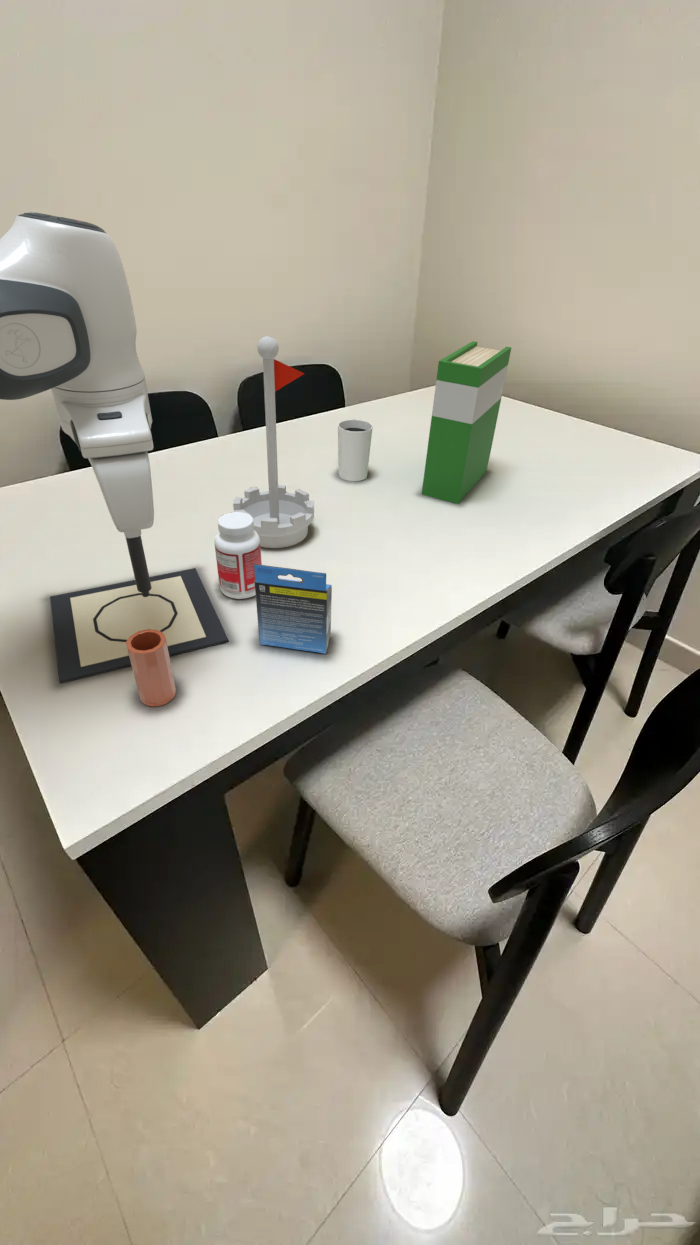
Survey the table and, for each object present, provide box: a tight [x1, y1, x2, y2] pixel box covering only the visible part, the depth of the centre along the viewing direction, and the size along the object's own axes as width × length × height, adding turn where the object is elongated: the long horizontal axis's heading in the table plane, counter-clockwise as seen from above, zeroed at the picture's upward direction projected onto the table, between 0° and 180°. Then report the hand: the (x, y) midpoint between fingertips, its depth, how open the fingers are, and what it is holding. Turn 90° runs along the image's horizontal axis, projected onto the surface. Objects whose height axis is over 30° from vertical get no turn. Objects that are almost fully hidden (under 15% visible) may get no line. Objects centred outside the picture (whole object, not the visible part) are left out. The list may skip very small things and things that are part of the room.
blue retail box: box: [253, 564, 333, 654], centre depth 71 cm, size 9×4×12 cm, turn 81°
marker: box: [125, 534, 152, 597], centre depth 69 cm, size 2×2×14 cm
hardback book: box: [421, 340, 512, 505], centre depth 108 cm, size 18×7×24 cm, turn 152°
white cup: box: [337, 419, 374, 482], centre depth 113 cm, size 7×7×10 cm
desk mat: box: [49, 567, 229, 684], centre depth 77 cm, size 20×18×1 cm
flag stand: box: [232, 335, 315, 549], centre depth 88 cm, size 13×13×30 cm
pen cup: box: [126, 629, 177, 708], centre depth 64 cm, size 4×4×8 cm
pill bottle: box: [213, 511, 263, 600], centre depth 81 cm, size 6×6×11 cm
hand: (130, 528), depth 67 cm, fingers closed on marker, 2 cm apart
